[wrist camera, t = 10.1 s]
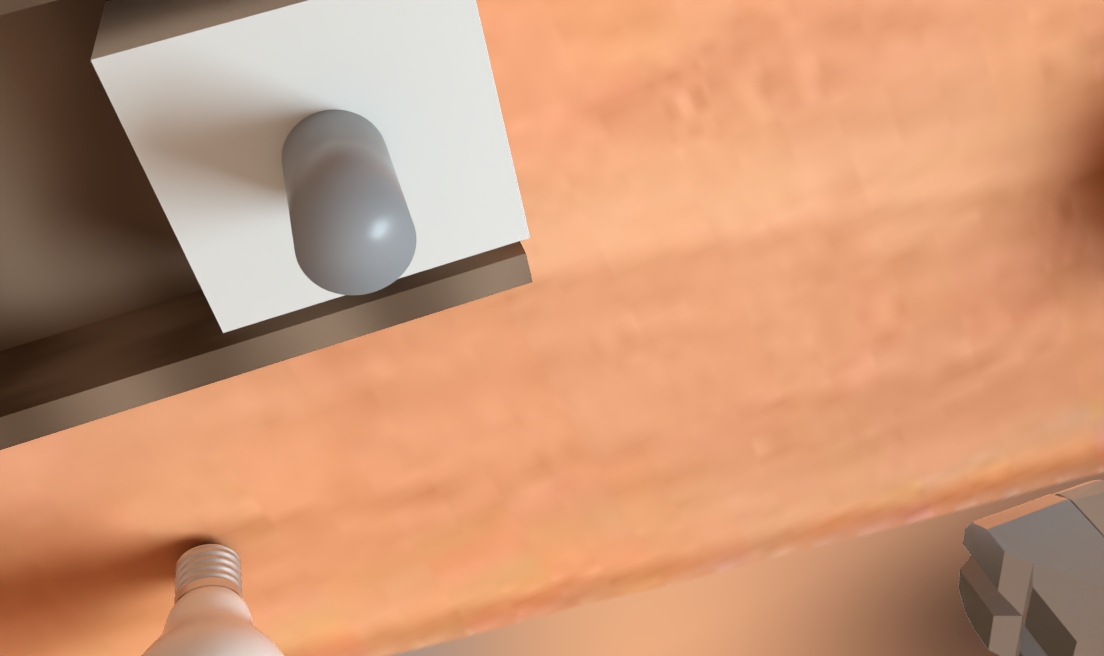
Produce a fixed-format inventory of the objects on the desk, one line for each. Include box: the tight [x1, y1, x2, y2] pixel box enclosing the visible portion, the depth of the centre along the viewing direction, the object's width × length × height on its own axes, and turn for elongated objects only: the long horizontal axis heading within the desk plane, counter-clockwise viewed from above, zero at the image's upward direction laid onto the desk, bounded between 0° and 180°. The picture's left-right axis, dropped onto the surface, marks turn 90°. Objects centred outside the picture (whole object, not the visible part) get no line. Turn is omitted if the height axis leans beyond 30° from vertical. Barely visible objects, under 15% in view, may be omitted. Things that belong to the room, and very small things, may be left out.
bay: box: [0, 0, 532, 450], centre depth 29 cm, size 22×14×9 cm, turn 100°
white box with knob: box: [91, 0, 530, 333], centre depth 29 cm, size 10×9×10 cm
